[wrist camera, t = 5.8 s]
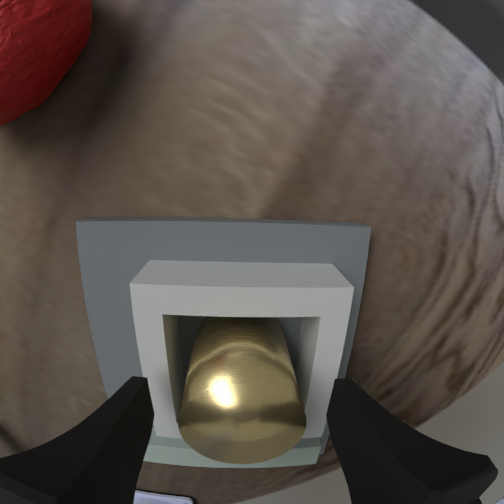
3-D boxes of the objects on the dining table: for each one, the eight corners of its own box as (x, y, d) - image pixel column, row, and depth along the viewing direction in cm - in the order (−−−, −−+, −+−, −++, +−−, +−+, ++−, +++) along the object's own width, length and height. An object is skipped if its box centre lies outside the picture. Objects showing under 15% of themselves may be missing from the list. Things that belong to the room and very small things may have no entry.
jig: (320, 444, 19) (332, 485, 15) (128, 439, 18) (115, 480, 14) (363, 223, 15) (401, 242, 11) (84, 217, 14) (42, 235, 10)
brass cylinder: (279, 376, 16) (296, 462, 10) (197, 374, 16) (183, 461, 10) (288, 302, 15) (316, 381, 9) (194, 300, 14) (171, 379, 9)
